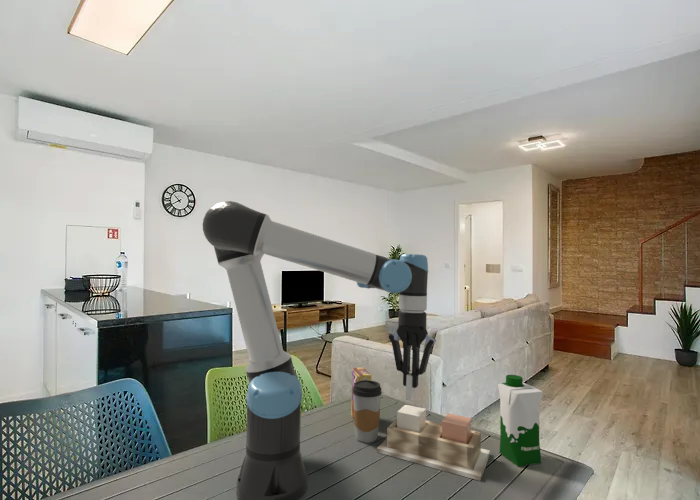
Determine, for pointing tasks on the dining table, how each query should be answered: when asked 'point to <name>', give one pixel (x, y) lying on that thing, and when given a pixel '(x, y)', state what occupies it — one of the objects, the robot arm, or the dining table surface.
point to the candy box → (358, 375)
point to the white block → (411, 418)
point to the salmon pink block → (456, 428)
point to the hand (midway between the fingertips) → (410, 398)
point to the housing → (436, 450)
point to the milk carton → (519, 421)
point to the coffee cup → (366, 410)
